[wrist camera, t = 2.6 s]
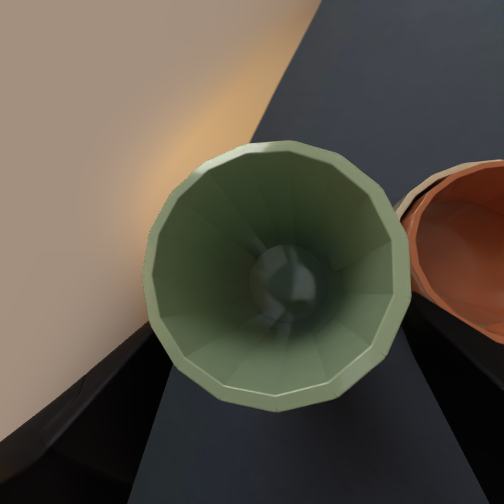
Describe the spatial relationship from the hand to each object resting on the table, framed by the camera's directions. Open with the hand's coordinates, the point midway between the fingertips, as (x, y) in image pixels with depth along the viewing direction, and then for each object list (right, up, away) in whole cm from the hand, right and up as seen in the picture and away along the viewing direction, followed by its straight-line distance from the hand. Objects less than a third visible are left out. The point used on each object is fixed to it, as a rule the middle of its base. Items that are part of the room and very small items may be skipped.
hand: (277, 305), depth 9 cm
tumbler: (+2, 0, +9) cm, 9 cm away
